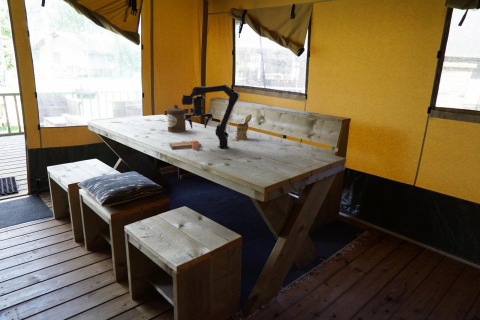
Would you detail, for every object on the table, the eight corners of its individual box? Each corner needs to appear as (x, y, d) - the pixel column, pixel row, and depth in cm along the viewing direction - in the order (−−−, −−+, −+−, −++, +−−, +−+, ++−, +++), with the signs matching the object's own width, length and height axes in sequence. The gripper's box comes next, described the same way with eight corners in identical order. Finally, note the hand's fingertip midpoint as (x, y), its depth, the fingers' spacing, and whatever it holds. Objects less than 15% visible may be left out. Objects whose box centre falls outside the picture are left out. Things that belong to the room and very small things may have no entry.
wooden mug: (254, 138, 258) (254, 115, 253) (240, 140, 250) (240, 116, 245) (247, 136, 265) (247, 113, 260) (233, 138, 257) (233, 115, 252)
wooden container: (164, 130, 282) (163, 104, 276) (179, 128, 292) (178, 102, 285) (173, 133, 272) (172, 106, 265) (189, 131, 281) (188, 104, 275)
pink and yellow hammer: (198, 149, 225) (198, 141, 223) (193, 149, 224) (193, 141, 222) (193, 144, 236) (193, 137, 235) (188, 145, 235) (188, 137, 234)
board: (201, 146, 230) (201, 143, 230) (172, 149, 223) (172, 146, 223) (197, 143, 239) (197, 140, 239) (169, 145, 232) (169, 142, 232)
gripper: (208, 103, 234) (209, 125, 239) (182, 104, 229) (183, 126, 233) (212, 105, 224) (212, 128, 229) (184, 106, 219) (185, 130, 223)
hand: (198, 128), depth 229 cm, fingers open, 9 cm apart
